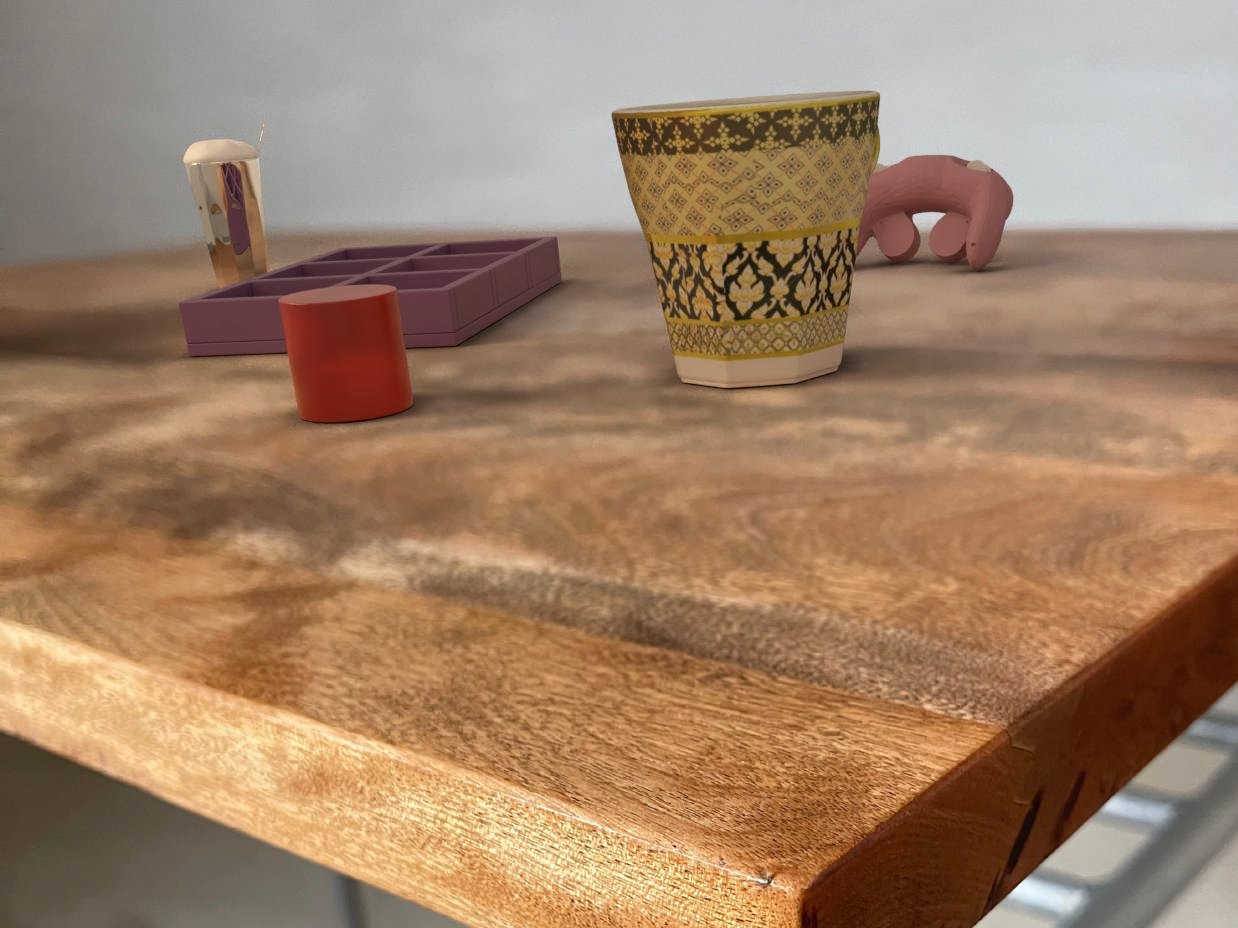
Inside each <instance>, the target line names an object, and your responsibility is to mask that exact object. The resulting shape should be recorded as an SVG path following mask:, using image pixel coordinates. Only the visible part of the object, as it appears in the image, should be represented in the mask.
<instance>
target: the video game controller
mask: <svg viewBox="0 0 1238 928" xmlns="http://www.w3.org/2000/svg"><path fill="white" fill-rule="evenodd" d="M1013 206H1014V193H1013V190H1012V187H1011V186H1010V184H1009V183H1008V182H1007V181H1006V179H1005V178H1004V177H1003V176H1002V175H1001V174H1000V173H999V172H998V171H996V170H995V169H993V168H992V167H990V166H989V165H987V163H984V162H983V161H981V160H980V159H975V160H967V159H964V158H960V157H958V156H955V155H951V154H950V155H948V154H921V155H911V156H907V157H905V158H904V159H902V160H901V161H899V162H896V163H895V164H891V165H889V164H888V165H884V164H882V163H878V162H877V165H876V167H875V170H874V172H873V174H872V175H871V177H870V182H869V187H868V191H867V196H866V201H865V205H864V209H863V214H862V218H861V222H860V228H859V236H858V244H857V252H856V258H857V257H858V256H859V255H860V253H861V251H862V250H863V249H864V248H865V245H867V243H868V241H869V240H870V238H874V239H875V240H876V242H877V246H878V248H879V250H880V252H881V254H883V255H884V256H885V257H886V258H887V259H888V260H889V261H891V262H893V263H898V264H899V263H905V262H908V261H909V260H911V259H912V258H913V257H915V255H916V254H917V253H918V251H919V249H920V247H921V235H920V230H919V229H918V226H916V224H915V223H914V215H917V214H924V213H939V214H943V216H941V217H940V218H939V219H938V220H937V221H936V222H935V224H934V225H933V227H932V228H931V230H930V234H929V235H928V245H929V249H930V250H931V251H932V253H933V254H934V255H935V256H936V257H937V258H938V259H939V260H940V261H942V262H943V263H946V264H955V263H960V262H961V261H962V260H964V259H965V258H967V262H968V265H969V267H970V268H971V269H973V270H974V271H977V272H978V271H980V270H982V269H984V268H986V266H988V265H989V264H990V263H991V261H993V258H994V257H995V255H996V253H997V251H998V249H999V246H1000V244H1001V242H1002V237H1003V233H1004V229H1005V225H1006V221H1008V219H1009V217H1010V215H1011V213H1012V210H1013Z"/></svg>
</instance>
